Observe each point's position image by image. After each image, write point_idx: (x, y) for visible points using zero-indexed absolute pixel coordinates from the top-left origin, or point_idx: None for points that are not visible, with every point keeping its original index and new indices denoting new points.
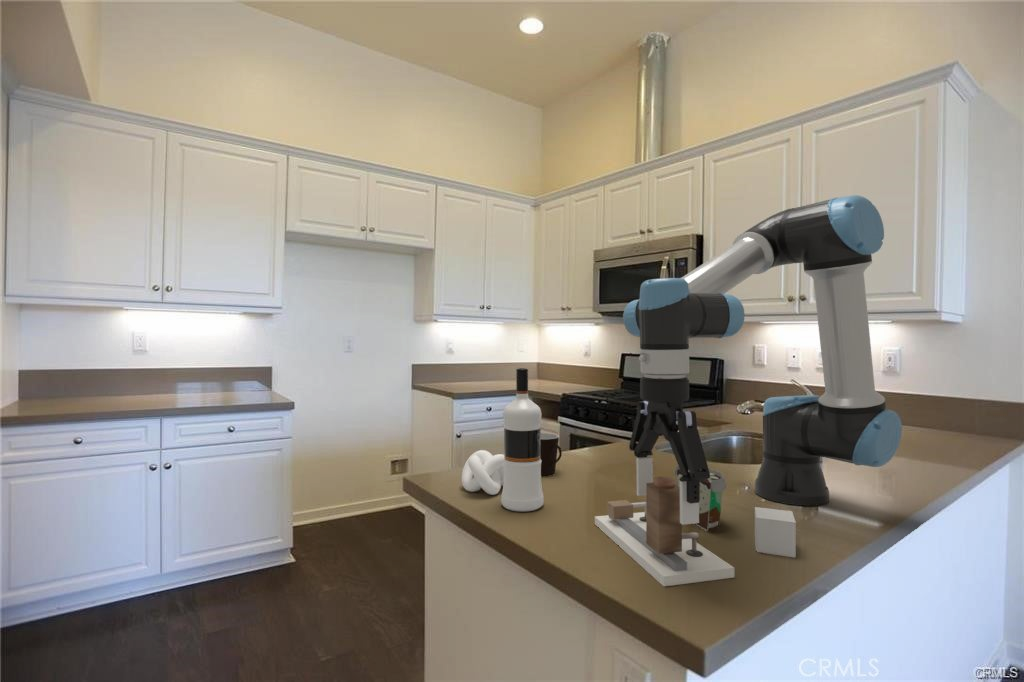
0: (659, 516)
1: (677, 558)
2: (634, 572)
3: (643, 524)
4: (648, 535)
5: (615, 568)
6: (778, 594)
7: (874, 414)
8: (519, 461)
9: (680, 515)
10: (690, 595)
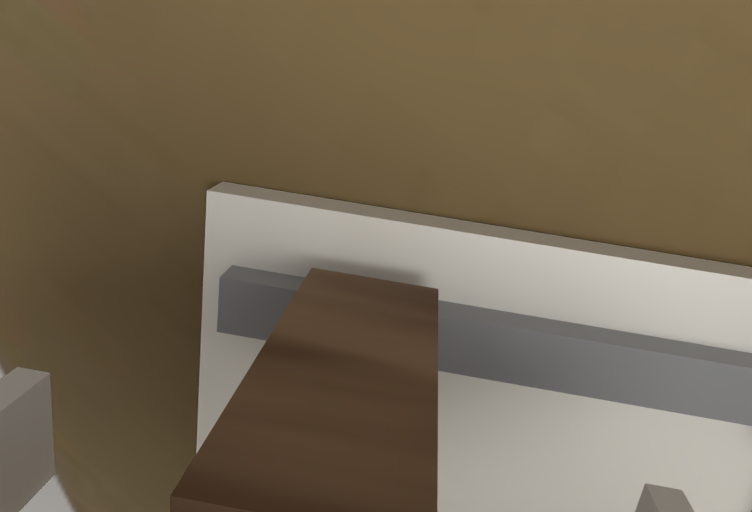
0: (255, 363)
1: (262, 321)
2: (375, 147)
3: (737, 474)
4: (413, 306)
5: (445, 86)
6: (78, 481)
7: None
8: None
9: (2, 399)
10: (137, 230)
